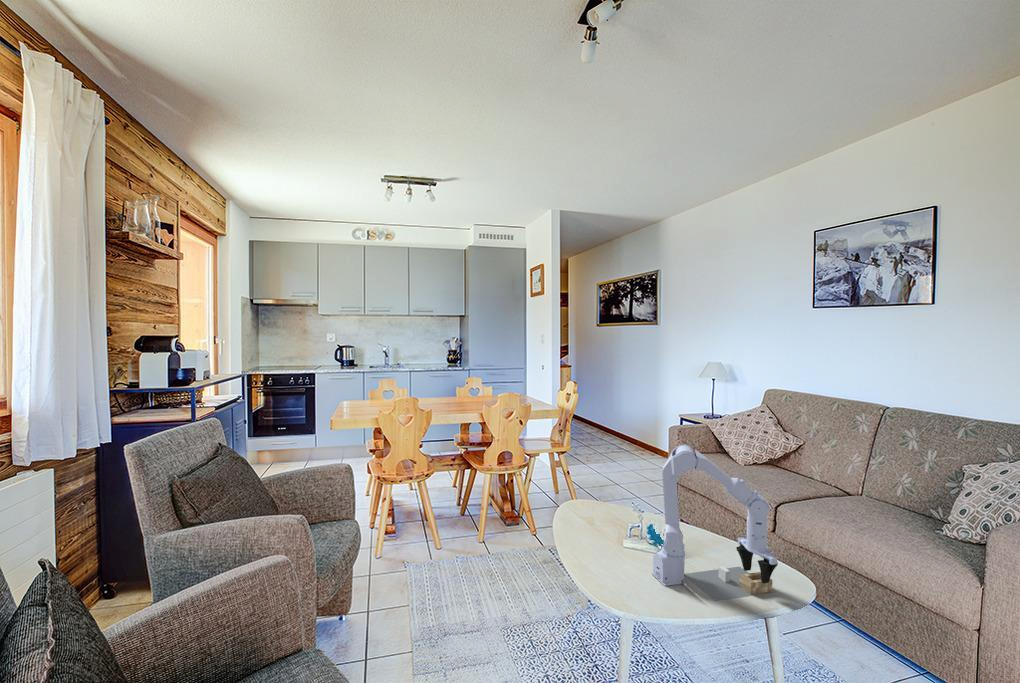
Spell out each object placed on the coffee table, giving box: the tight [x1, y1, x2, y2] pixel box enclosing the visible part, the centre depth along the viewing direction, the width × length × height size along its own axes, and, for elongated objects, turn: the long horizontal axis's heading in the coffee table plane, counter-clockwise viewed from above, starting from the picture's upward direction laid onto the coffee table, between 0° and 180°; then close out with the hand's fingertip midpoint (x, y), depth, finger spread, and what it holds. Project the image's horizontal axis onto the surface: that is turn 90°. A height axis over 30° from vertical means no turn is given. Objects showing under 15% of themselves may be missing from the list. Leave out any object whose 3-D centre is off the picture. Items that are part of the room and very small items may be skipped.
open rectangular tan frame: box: [739, 571, 773, 595], centre depth 149 cm, size 8×5×4 cm, turn 104°
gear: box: [646, 523, 664, 547], centre depth 180 cm, size 11×6×10 cm
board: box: [684, 565, 777, 602], centre depth 152 cm, size 22×16×4 cm
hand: (755, 576), depth 148 cm, fingers open, 7 cm apart
